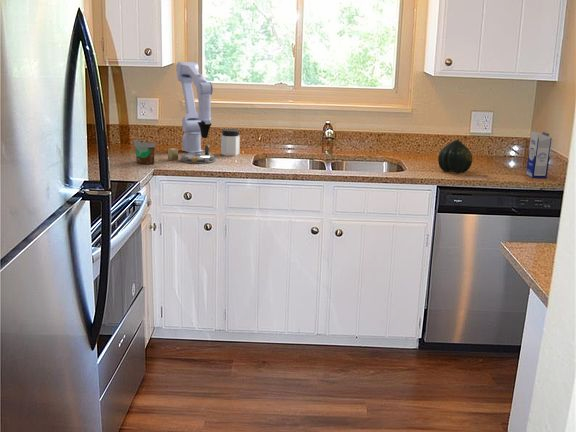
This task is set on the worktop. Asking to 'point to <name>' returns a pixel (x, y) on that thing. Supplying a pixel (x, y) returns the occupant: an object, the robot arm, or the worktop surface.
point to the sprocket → (198, 156)
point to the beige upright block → (172, 154)
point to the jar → (230, 142)
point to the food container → (144, 152)
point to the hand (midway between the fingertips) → (204, 137)
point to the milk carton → (538, 155)
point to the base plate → (197, 161)
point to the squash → (455, 157)
